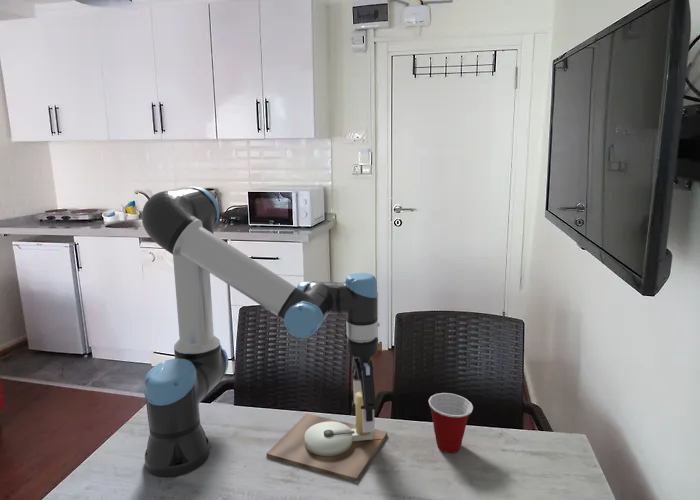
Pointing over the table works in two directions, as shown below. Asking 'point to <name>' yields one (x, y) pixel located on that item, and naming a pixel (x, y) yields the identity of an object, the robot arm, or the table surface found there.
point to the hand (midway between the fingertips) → (363, 416)
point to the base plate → (338, 465)
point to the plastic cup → (449, 420)
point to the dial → (336, 434)
